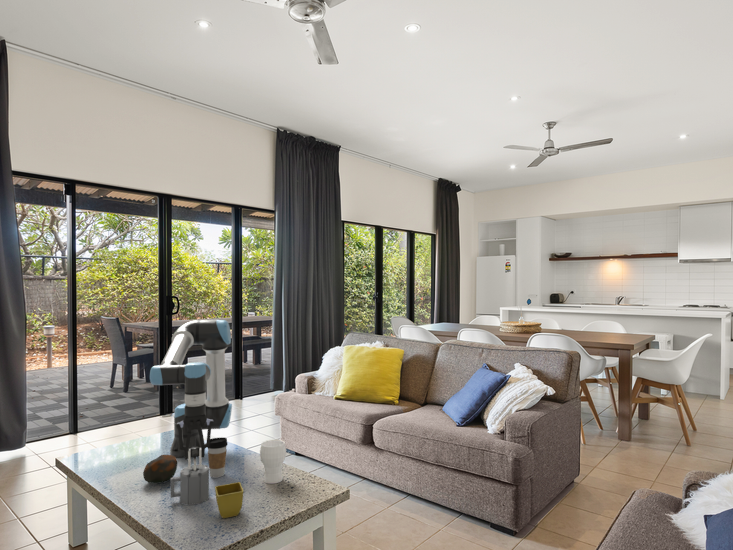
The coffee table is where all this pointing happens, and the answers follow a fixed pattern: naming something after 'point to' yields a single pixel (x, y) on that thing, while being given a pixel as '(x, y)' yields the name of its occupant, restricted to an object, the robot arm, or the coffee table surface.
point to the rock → (160, 469)
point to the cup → (273, 460)
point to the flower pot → (229, 499)
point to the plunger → (194, 455)
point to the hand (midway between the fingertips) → (194, 466)
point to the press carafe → (192, 485)
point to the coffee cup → (217, 456)
